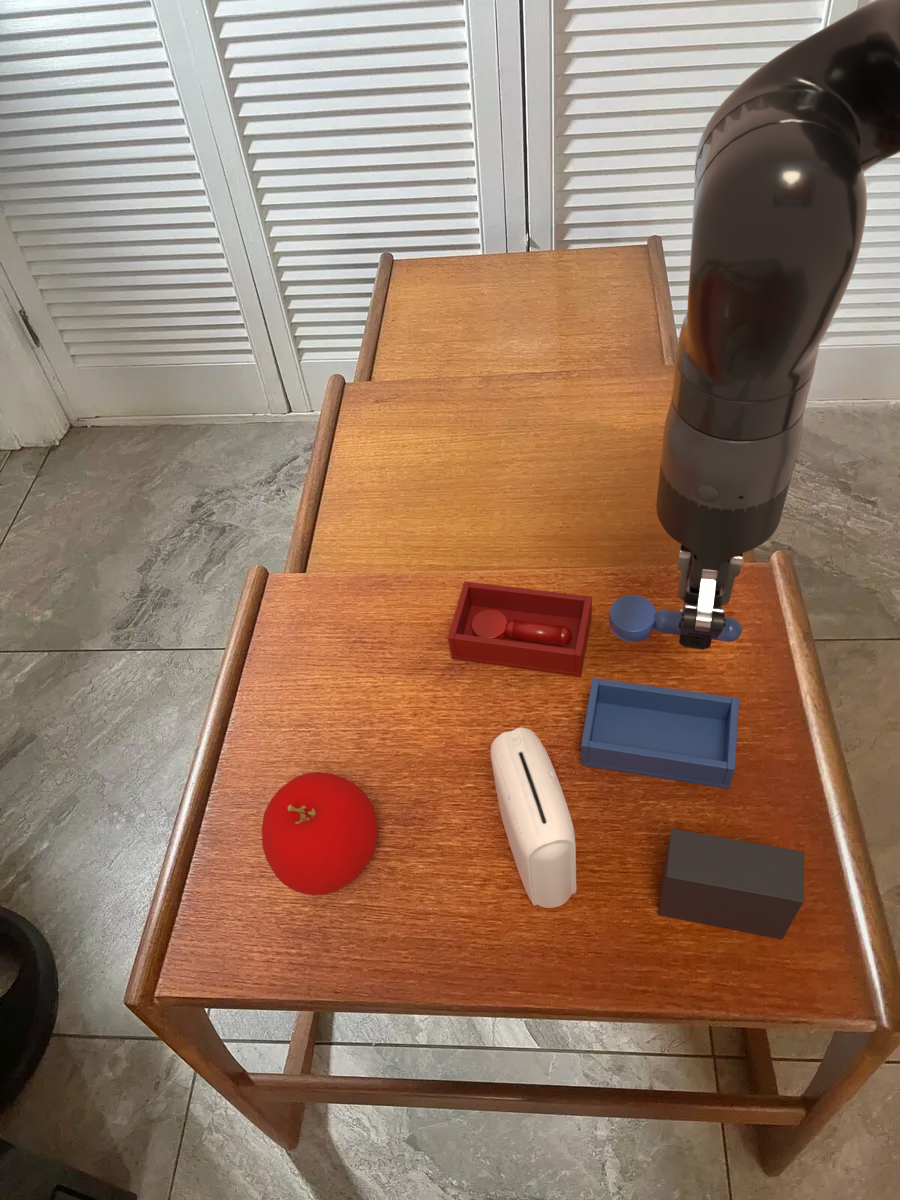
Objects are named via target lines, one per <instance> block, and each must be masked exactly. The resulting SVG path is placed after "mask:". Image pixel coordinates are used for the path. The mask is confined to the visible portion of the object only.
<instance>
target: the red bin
mask: <svg viewBox="0 0 900 1200" xmlns="http://www.w3.org/2000/svg"><path fill="white" fill-rule="evenodd" d="M486 609H494V610H498V611H500V612H501V613H503V614H504V615H505V617H506V619H507V622H508V621H510V620H519V621H527V622H535V623H542V624H550V625H558V626H565V627H567V628H569V629H570V631H571V632H572V639H571V641H570V643H568V644H567V645H563V646H562V645H554V644H546V643H539V642H531V641H524V640H516V639H510V638H508V637H506V639H505V640H500V639H493V638H485V637H477V636H473V633H472V627H471V623H472V619H473V618H474V616H475V615H476V614H477V613H479V612H480V611H483V610H486ZM592 611H593V596H591V595H583V594H576V593H575V594H574V593H568V592H567V593H566V592H557V591H550V590H543V589H542V590H541V589H532V588H524V587H517V586H507V585H498V584H491V583H483V582H482V583H481V582H474V581H466V580H465V581H463V584H462V586H461V591H460V594H459V597H458V601H457V604H456V608H455V612H454V615H453V618H452V622H451V626H450V629H449V632H448V636H447V640H448V646H449V650H450V655H451V659H452V660H457V661H463V662H464V661H465V662H470V663H471V662H472V663H477V664H478V663H479V664H485V665H492V666H493V665H494V666H501V667H508V668H513V669H514V668H516V669H523V670H529V671H537V672H542V673H543V672H544V673H551V674H552V673H553V674H559V675H564V676H572V677H579V678H580V677H582V672H583V669H584V668H583V667H584V663H585V657H586V651H587V646H588V642H589V641H588V640H589V635H590V629H591V624H592V617H593V616H592V614H593V613H592Z"/></svg>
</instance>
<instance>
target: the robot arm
mask: <svg viewBox="0 0 900 1200" xmlns="http://www.w3.org/2000/svg"><path fill="white" fill-rule="evenodd" d="M899 153H900V0H874V1H871V2H869V3H867V4H865V5H863V6H861V7H859V8H857V9H856V10H853V11H852V12H850V13H848V14H847V15H845V16H843V17H842V18H839V19H838V20H836V21H835V22H832V23H831V24H829V25H827V26H826V27H824V28H822V29H821V30H819V31H817V32H815V33H813V34H811V35H810V36H808V37H806V38H804V39H803V40H801V41H799V42H797V43H796V44H794V45H792V46H791V47H789V48H787V49H786V50H784V51H783V52H781V53H780V54H778V55H776V56H775V57H774V58H771V60H769V61H768V62H766V63H765V64H764V65H762V66H760V68H758V69H757V70H756V71H754V72H753V73H752V74H751V75H749V76H748V77H747V78H746V79H745V80H744V81H743V82H742V83H740V84H739V85H738V86H737V87H736V88H735V89H733V91H732V92H731V93H730V94H729V95H728V96H727V97H726V98H725V99H724V100H723V102H722V103H720V105H719V106H718V107H717V109H716V110H715V111H714V113H713V114H712V116H711V117H710V119H709V121H708V122H707V124H706V126H705V128H704V129H703V132H702V134H701V137H700V139H699V142H698V146H697V149H696V154H695V164H694V184H693V185H694V186H693V188H694V189H693V208H692V228H691V245H690V264H689V276H688V278H689V279H688V292H687V312H686V314H685V316H684V318H683V321H682V324H681V328H680V332H679V337H678V341H677V347H676V355H675V365H674V375H673V381H672V392H671V393H672V394H671V399H670V403H669V406H668V409H667V413H666V417H665V421H664V427H663V436H662V446H661V455H660V464H659V474H658V485H657V494H656V506H655V507H656V514H657V518H658V520H659V522H660V525H661V526H662V528H663V530H664V531H665V532H666V533H667V534H668V536H670V537H671V538H672V539H673V540H674V541H676V542H677V543H678V544H679V552H678V559H677V569H678V570H679V571H680V573H679V580H678V585H677V586H678V587H677V598H678V599H679V600H681V601H683V604H682V606H680V608H679V609H680V610H679V611H680V614H681V622H679V627H678V629H680V635H679V640H678V643H679V645H680V646H682V647H684V648H688V649H694V650H703V651H705V650H707V649H710V647H711V645H712V639H717V638H718V637H719V635H720V634H721V633H722V631H723V626H724V627H725V626H726V619H724V618H725V616H726V615H725V607H723V606H725V605H728V604H730V602H731V598H732V593H733V589H734V584H735V579H736V578H737V577H739V576H740V574H741V571H742V565H743V560H744V553H746V552H749V551H752V550H754V549H756V548H758V547H760V546H761V545H763V544H764V543H766V542H767V541H768V540H769V539H770V538H771V537H772V536H773V535H774V533H776V530H777V529H778V527H779V525H780V522H781V520H782V519H781V518H782V516H783V515H782V514H783V511H784V507H785V504H786V500H787V495H788V493H789V492H788V491H789V488H790V485H791V481H792V476H793V473H794V469H795V465H796V461H797V459H798V454H799V450H800V446H801V441H802V435H803V426H804V425H803V421H804V413H805V408H806V404H807V401H808V396H809V392H810V389H811V384H812V381H813V377H814V372H815V369H816V363H817V359H818V354H819V349H820V348H819V347H820V343H821V341H822V340H823V338H824V337H825V335H826V334H827V331H828V330H829V328H830V325H831V323H832V321H833V319H834V317H835V315H836V313H837V310H838V309H839V306H840V304H841V302H842V299H844V298H843V297H844V296H845V293H846V292H847V288H848V286H849V284H850V281H851V280H852V276H853V273H854V270H855V267H856V264H857V260H858V256H859V252H860V249H861V246H862V245H861V244H862V241H863V236H864V231H865V226H866V218H867V208H868V199H867V198H868V193H867V192H868V191H867V186H866V185H867V184H866V179H865V172H866V171H867V170H869V169H870V168H872V167H874V166H875V165H877V164H879V163H881V162H883V161H885V160H887V159H889V158H891V157H893V156H896V155H897V154H899Z"/></svg>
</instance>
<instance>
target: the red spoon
mask: <svg viewBox="0 0 900 1200" xmlns="http://www.w3.org/2000/svg"><path fill="white" fill-rule="evenodd" d="M471 627H472V633H473V636H477V637H485V638H493V639H500V640H505V639H506V637H508V638H510V639H516V640H524V641H531V642H539V643H546V644H554V645H562V646H563V645H567V644H568V643H570V641H571V639H572V632H571V631H570V629H569V628H567V627H565V626H558V625H550V624H542V623H535V622H527V621H519V620H510V621H508V622H507V619H506V617H505V615H504V614H503V613H501V612H500V611H498V610H494V609H486V610H483V611H480V612H479V613H477V614H476V615H475V616H474V618H473V619H472V623H471Z"/></svg>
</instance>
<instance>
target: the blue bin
mask: <svg viewBox="0 0 900 1200" xmlns="http://www.w3.org/2000/svg"><path fill="white" fill-rule="evenodd" d="M739 706H740V698H739V697H733V696H725V695H718V694H713V693H712V694H711V693H705V692H704V693H703V692H696V691H691V690H690V691H689V690H683V689H675V688H670V687H669V688H668V687H662V686H655V685H646V684H638V683H632V682H625V681H618V680H610V679H605V678H596V677H592V680H591V685H590V691H589V697H588V703H587V708H586V714H585V721H584V726H583V731H582V738H581V744H580V765H581V766H584V767H592V768H598V769H603V770H610V771H616V772H622V773H628V774H633V775H640V776H646V777H653V778H660V779H665V780H671V781H672V780H673V781H677V782H684V783H689V784H696V785H701V786H702V785H703V786H706V787H707V786H708V787H713V788H714V787H715V788H721V789H726V790H729V789H730V788H731V784H732V781H733V777H734V774H735V771H736V762H737V761H736V759H737V758H736V757H737V741H738V725H739V709H740V707H739Z"/></svg>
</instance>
